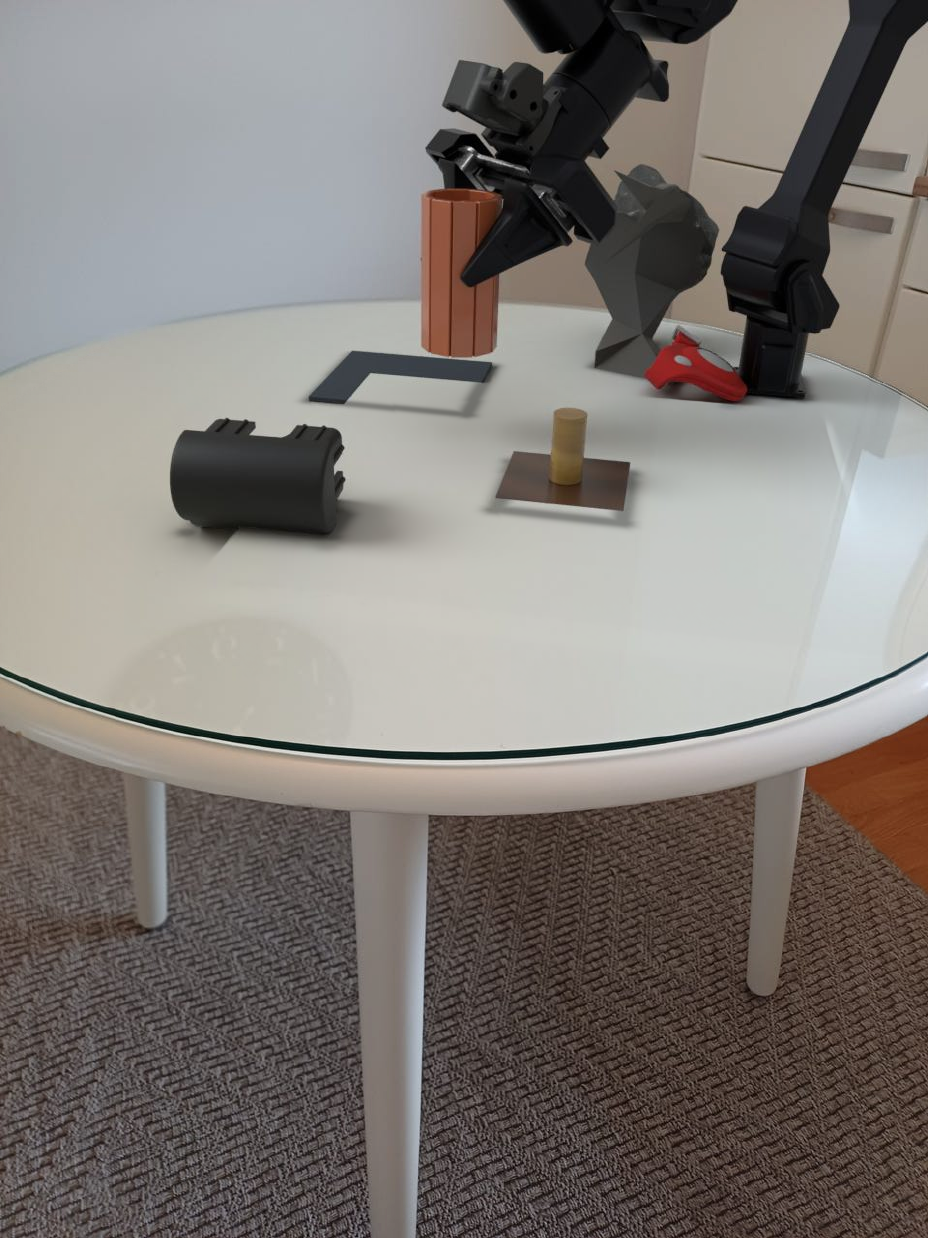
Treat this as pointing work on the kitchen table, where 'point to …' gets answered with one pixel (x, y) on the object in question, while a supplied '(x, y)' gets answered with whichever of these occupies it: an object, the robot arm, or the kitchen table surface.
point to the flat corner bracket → (393, 372)
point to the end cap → (257, 477)
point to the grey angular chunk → (647, 265)
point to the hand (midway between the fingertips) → (444, 273)
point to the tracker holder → (695, 368)
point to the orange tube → (456, 273)
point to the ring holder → (566, 470)
